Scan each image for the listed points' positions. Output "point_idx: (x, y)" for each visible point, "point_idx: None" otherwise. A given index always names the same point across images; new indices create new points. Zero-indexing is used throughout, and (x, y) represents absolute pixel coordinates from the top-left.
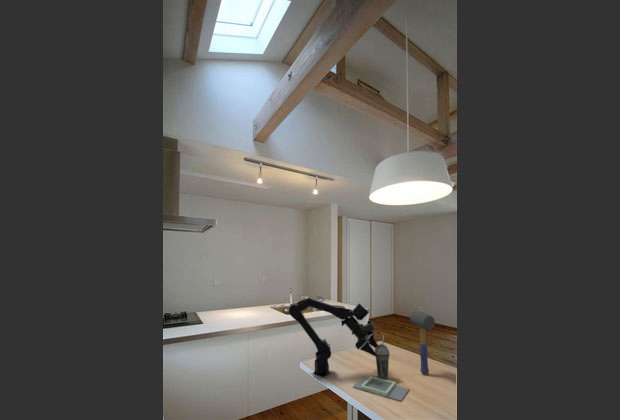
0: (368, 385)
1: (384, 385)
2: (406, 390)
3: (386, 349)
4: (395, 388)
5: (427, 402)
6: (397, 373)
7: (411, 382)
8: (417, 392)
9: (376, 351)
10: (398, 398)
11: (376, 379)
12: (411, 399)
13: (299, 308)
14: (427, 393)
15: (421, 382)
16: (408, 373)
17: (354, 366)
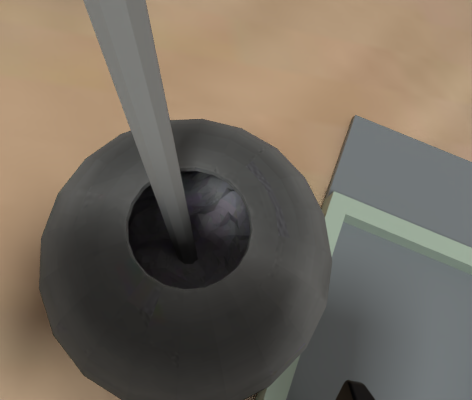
0: None
1: (356, 287)
2: (388, 135)
3: (275, 148)
4: (381, 205)
5: (468, 50)
6: (74, 163)
7: (228, 86)
8: (366, 77)
9: (278, 375)
10: None
11: (297, 358)
12: (469, 126)
13: None
14: (361, 26)
15: (214, 26)
16: (66, 80)
17: None
